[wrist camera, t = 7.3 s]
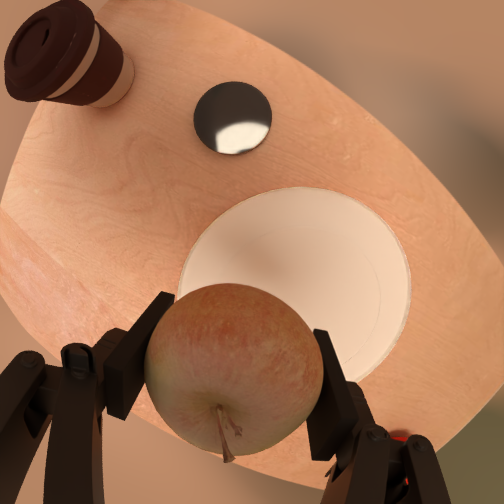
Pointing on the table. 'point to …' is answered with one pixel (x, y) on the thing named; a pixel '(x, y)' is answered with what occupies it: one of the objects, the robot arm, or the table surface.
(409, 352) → the table surface
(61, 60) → the coffee cup
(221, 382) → the fruit
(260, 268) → the plate
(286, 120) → the table surface
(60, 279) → the table surface
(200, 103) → the slate coaster
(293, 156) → the table surface
